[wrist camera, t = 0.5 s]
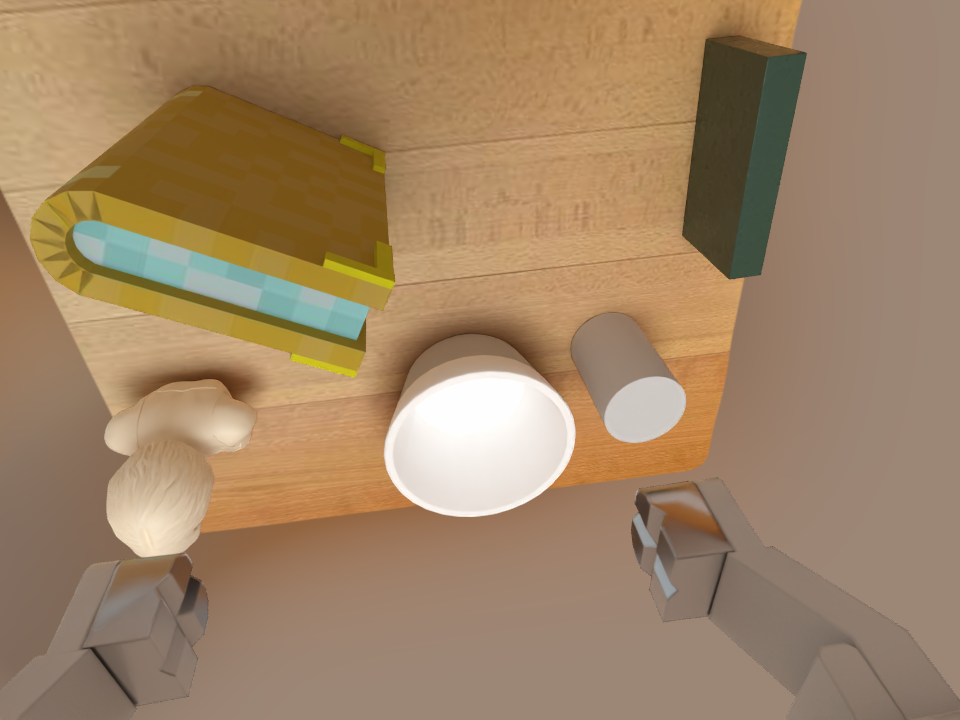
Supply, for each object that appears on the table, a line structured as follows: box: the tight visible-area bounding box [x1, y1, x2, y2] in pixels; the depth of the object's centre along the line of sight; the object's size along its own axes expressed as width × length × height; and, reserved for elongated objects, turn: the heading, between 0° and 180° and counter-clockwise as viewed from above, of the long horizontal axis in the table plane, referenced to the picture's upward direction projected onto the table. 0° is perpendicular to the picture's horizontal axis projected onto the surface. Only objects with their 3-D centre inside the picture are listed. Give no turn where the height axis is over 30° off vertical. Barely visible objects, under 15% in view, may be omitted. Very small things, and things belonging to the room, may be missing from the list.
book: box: [30, 86, 395, 378], centre depth 42 cm, size 17×7×25 cm, turn 65°
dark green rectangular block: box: [683, 36, 807, 279], centre depth 54 cm, size 18×3×10 cm, turn 4°
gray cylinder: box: [571, 313, 686, 443], centre depth 64 cm, size 8×8×12 cm
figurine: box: [104, 379, 257, 557], centre depth 57 cm, size 14×9×20 cm
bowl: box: [384, 334, 576, 517], centre depth 65 cm, size 19×19×11 cm
